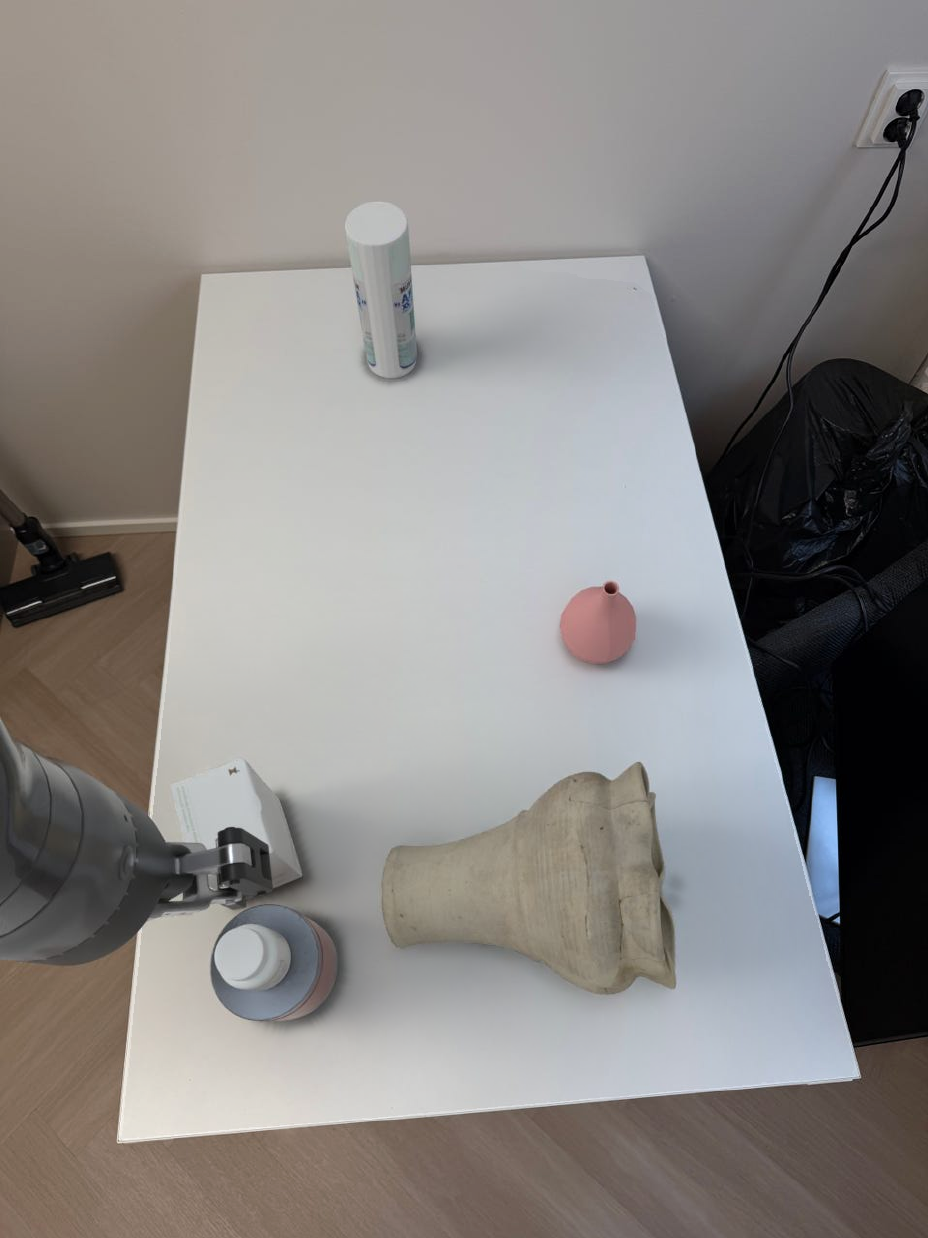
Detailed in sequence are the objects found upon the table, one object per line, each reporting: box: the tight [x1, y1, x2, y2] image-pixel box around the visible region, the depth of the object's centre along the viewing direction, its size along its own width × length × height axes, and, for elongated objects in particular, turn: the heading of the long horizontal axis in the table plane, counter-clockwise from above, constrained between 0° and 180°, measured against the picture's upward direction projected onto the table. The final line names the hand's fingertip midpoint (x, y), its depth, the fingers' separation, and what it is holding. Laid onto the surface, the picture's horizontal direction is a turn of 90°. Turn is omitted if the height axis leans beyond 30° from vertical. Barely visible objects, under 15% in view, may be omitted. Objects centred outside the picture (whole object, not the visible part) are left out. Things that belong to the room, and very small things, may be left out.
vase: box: [380, 761, 677, 996], centre depth 71 cm, size 22×22×28 cm
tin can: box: [209, 903, 339, 1022], centre depth 70 cm, size 8×8×11 cm
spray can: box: [344, 200, 418, 379], centre depth 95 cm, size 6×6×20 cm
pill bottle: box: [214, 924, 291, 990], centre depth 62 cm, size 4×4×8 cm
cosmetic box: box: [169, 756, 303, 897], centre depth 72 cm, size 8×7×16 cm
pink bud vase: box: [559, 580, 637, 665], centre depth 83 cm, size 8×8×12 cm
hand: (165, 905), depth 49 cm, fingers open, 8 cm apart
